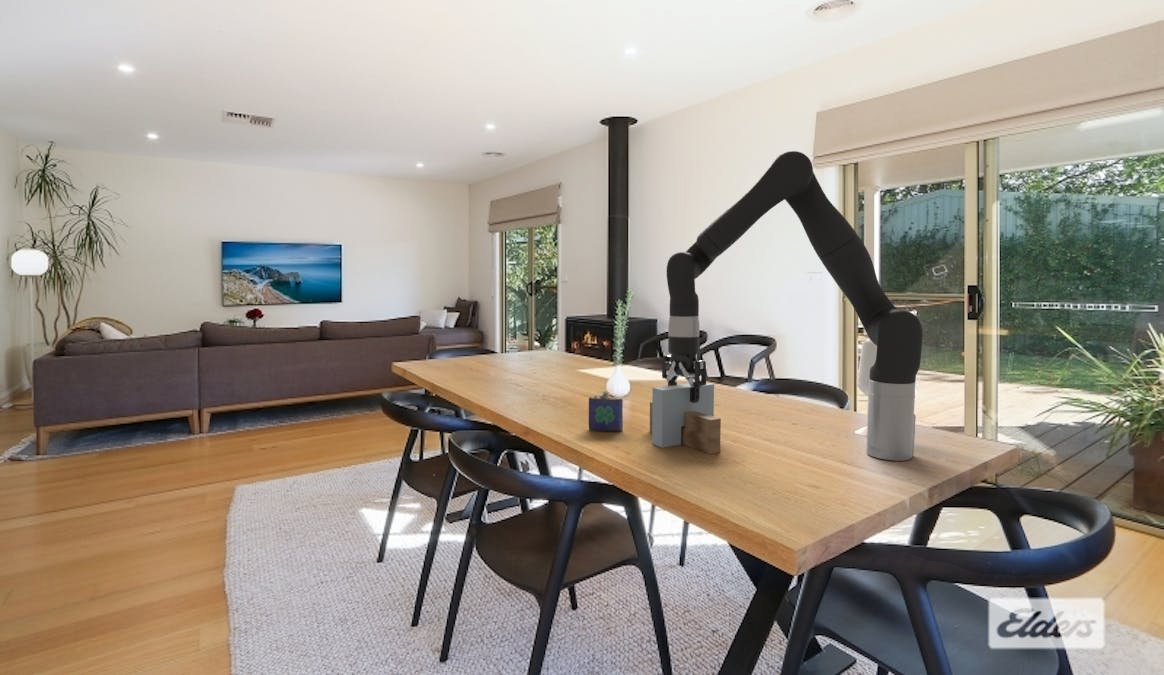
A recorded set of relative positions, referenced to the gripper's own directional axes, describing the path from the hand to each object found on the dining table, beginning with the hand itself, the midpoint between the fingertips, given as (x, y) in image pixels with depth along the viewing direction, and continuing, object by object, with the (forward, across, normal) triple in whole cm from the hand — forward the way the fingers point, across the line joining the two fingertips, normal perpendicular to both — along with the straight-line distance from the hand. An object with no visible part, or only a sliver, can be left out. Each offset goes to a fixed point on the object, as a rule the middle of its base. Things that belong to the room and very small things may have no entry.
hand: (683, 399), depth 148 cm
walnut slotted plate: (+11, 0, 0) cm, 11 cm away
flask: (+11, +19, +11) cm, 25 cm away
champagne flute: (+11, -18, -47) cm, 51 cm away
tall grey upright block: (+11, 0, 0) cm, 11 cm away
